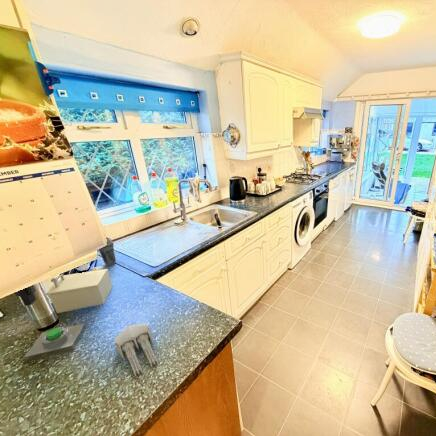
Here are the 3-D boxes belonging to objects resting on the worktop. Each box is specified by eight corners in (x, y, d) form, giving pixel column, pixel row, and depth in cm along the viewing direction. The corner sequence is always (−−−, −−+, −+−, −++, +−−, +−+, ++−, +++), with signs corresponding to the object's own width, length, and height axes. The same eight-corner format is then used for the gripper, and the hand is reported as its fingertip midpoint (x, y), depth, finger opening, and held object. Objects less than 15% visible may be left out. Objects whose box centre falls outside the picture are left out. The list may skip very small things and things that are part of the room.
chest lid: (46, 295, 90) (41, 284, 88) (62, 277, 101) (58, 267, 99) (97, 286, 95) (94, 276, 94) (107, 270, 106) (105, 260, 105)
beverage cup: (99, 266, 125) (87, 232, 118) (111, 259, 132) (101, 226, 124) (109, 268, 123) (99, 233, 116) (122, 261, 130) (112, 228, 123)
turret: (130, 386, 70) (126, 377, 67) (113, 339, 81) (110, 330, 79) (165, 364, 76) (163, 355, 74) (145, 323, 88) (143, 314, 86)
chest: (56, 313, 93) (48, 295, 90) (71, 293, 104) (64, 277, 101) (103, 303, 99) (98, 286, 96) (113, 286, 110) (107, 270, 106)
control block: (26, 362, 74) (21, 352, 73) (44, 337, 83) (40, 328, 81) (73, 350, 78) (70, 341, 77) (86, 328, 87) (82, 319, 85)
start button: (45, 341, 77) (43, 337, 76) (51, 333, 80) (49, 329, 79) (59, 338, 78) (57, 334, 78) (64, 330, 81) (62, 326, 81)
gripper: (-47, 245, 60) (-6, 316, 69) (21, 238, 65) (50, 305, 73) (-23, 233, 67) (11, 299, 75) (36, 227, 71) (62, 290, 80)
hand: (30, 302), depth 74 cm, fingers closed
